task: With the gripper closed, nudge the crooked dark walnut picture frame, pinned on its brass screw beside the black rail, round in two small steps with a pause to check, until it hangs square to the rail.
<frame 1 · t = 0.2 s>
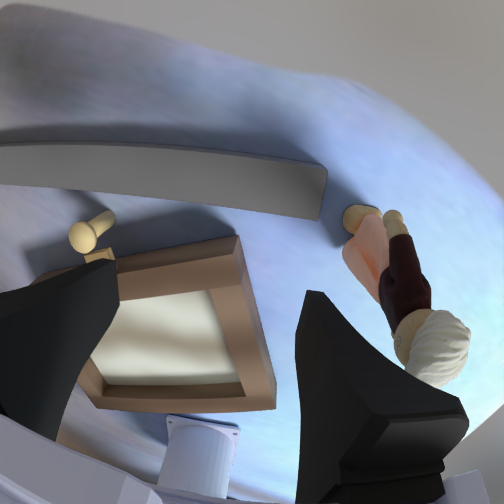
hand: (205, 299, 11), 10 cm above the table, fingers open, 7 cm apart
picture frame: (143, 336, 23), point 2 cm above the table, hinge at 20.0°
picture rail: (108, 163, 19), on the table
grandmother figurine: (365, 241, 21), on the table
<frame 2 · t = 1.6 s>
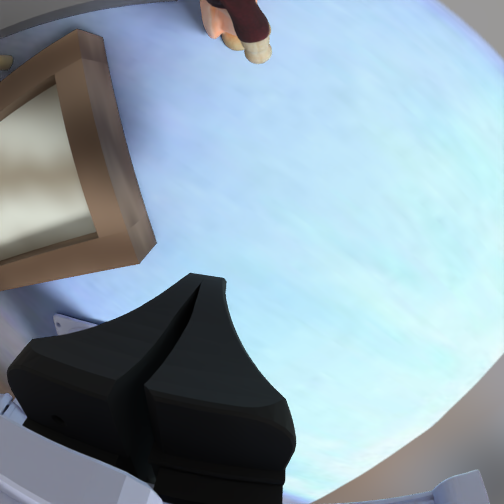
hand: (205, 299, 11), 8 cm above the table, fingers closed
picture frame: (12, 174, 17), point 2 cm above the table, hinge at 20.0°
picture rail: (16, 17, 13), on the table
grandmother figurine: (241, 24, 14), on the table
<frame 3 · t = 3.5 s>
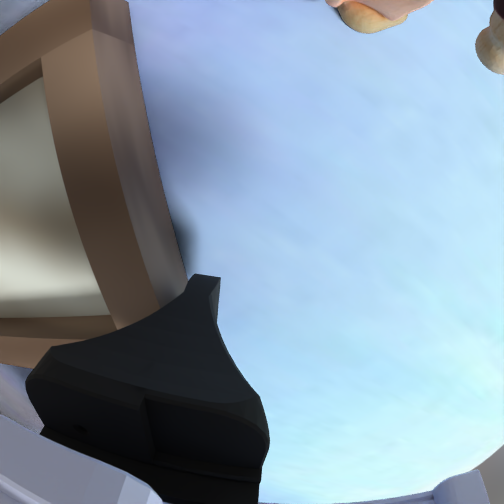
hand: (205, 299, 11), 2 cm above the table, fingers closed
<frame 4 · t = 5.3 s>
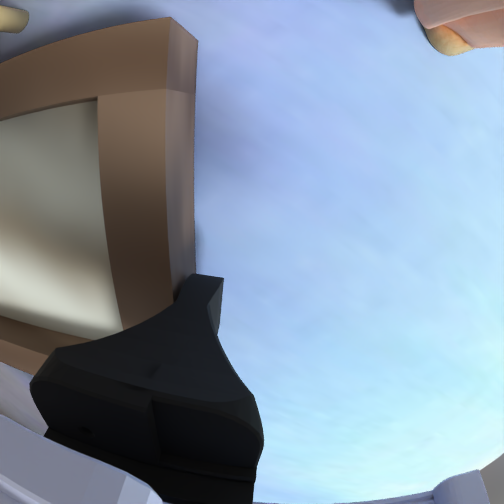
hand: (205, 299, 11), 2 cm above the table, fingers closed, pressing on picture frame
grandmother figurine: (443, 17, 8), on the table
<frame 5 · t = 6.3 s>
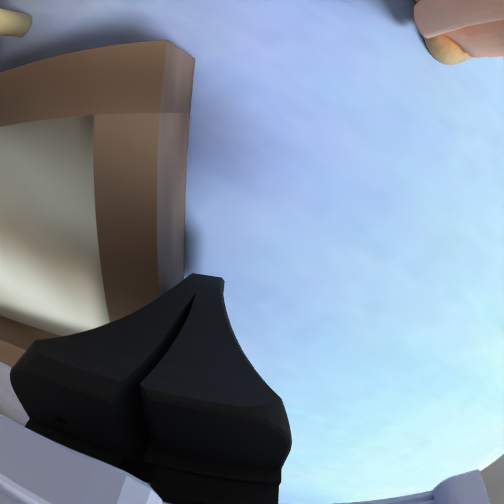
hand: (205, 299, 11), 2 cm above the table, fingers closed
grandmother figurine: (442, 26, 8), on the table
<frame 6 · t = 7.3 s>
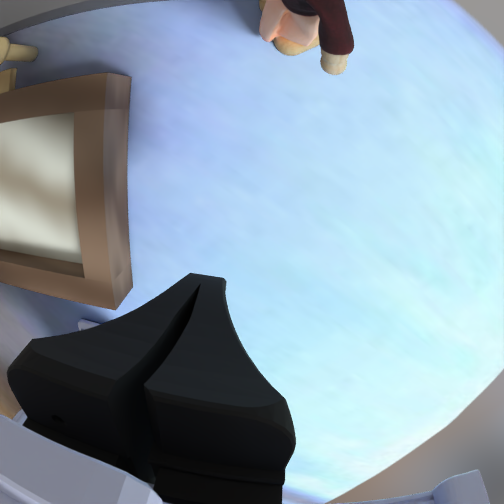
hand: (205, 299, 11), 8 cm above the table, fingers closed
picture frame: (13, 179, 17), point 2 cm above the table, hinge at 2.0°
picture rail: (42, 6, 13), on the table
grandmother figurine: (292, 29, 14), on the table
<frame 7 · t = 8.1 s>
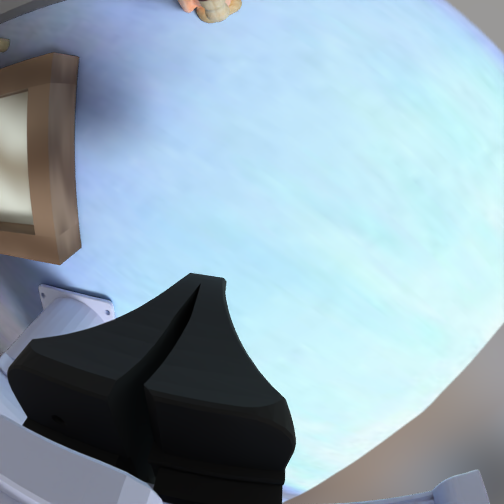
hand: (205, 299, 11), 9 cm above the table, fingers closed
picture rail: (14, 4, 13), on the table
grandmother figurine: (215, 0, 14), on the table
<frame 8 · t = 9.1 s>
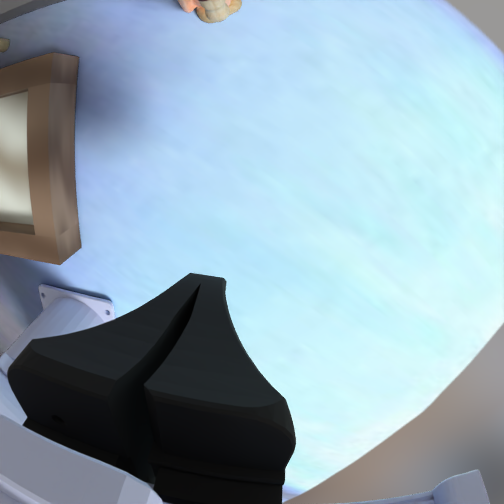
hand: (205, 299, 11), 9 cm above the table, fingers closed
picture rail: (14, 4, 13), on the table
grandmother figurine: (215, 0, 14), on the table
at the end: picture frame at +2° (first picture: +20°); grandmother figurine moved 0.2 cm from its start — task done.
